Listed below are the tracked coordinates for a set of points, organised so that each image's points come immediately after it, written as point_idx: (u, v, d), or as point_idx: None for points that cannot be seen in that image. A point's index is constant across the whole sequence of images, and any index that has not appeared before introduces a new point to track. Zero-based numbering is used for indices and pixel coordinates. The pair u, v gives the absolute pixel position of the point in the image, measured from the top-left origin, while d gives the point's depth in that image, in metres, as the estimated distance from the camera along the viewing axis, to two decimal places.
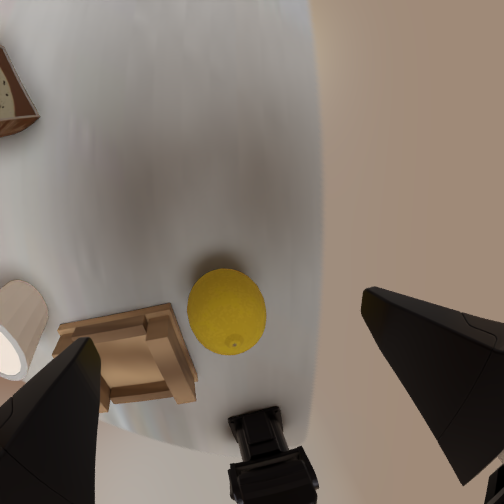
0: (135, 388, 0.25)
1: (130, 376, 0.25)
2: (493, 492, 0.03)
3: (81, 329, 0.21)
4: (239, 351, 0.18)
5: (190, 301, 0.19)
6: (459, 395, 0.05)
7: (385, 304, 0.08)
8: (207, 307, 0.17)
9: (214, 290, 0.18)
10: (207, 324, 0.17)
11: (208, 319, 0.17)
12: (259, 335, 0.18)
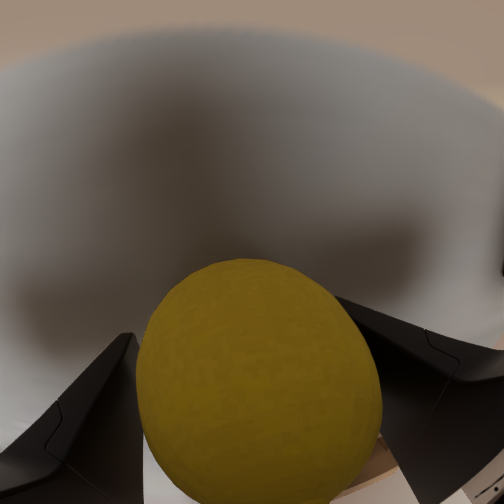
0: None
1: None
2: None
3: None
4: (357, 472, 0.04)
5: None
6: (418, 420, 0.05)
7: None
8: None
9: None
10: None
11: None
12: (332, 424, 0.03)
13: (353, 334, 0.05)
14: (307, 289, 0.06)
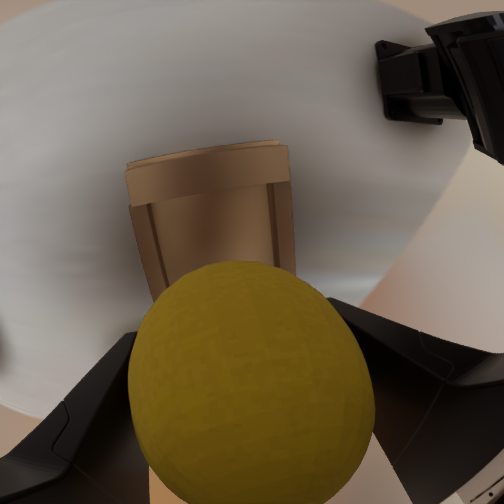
0: (274, 244, 0.18)
1: (253, 245, 0.18)
2: None
3: None
4: (348, 477, 0.04)
5: None
6: (412, 424, 0.05)
7: None
8: None
9: None
10: None
11: None
12: (321, 429, 0.03)
13: (345, 337, 0.05)
14: (299, 292, 0.06)
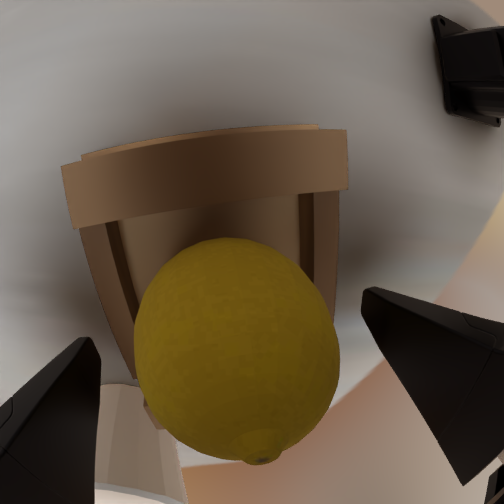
0: None
1: None
2: (493, 492, 0.03)
3: None
4: (313, 414, 0.05)
5: None
6: (459, 395, 0.05)
7: (385, 304, 0.08)
8: None
9: None
10: None
11: None
12: (281, 354, 0.05)
13: (309, 293, 0.06)
14: (273, 257, 0.07)
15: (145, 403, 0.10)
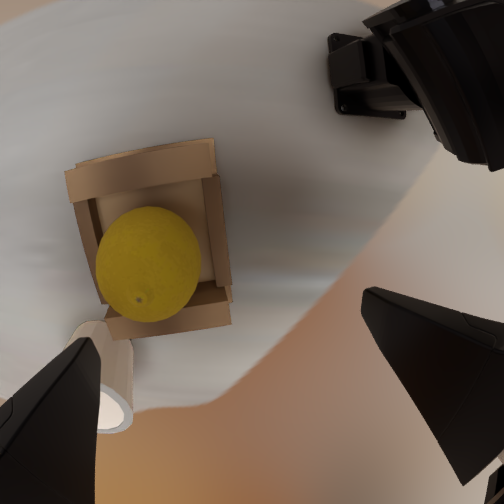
0: (209, 240, 0.18)
1: None
2: (493, 492, 0.03)
3: None
4: (168, 283, 0.12)
5: None
6: (459, 395, 0.05)
7: (385, 304, 0.08)
8: (110, 305, 0.12)
9: None
10: (124, 315, 0.12)
11: (119, 312, 0.12)
12: (149, 247, 0.11)
13: (176, 228, 0.13)
14: (164, 213, 0.13)
15: (106, 317, 0.16)
